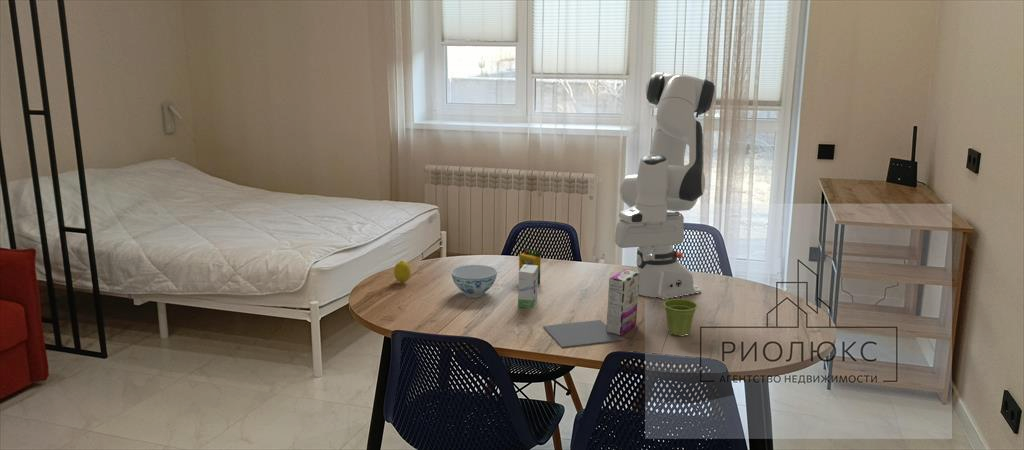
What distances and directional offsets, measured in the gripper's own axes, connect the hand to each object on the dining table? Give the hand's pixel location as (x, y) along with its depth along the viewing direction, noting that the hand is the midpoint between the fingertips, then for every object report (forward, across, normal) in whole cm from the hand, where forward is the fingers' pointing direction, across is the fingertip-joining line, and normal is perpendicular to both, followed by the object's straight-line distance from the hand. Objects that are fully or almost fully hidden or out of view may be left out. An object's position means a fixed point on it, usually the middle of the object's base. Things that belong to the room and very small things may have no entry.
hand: (648, 260), depth 222 cm
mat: (+20, +20, 0) cm, 28 cm away
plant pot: (+20, -8, +7) cm, 23 cm away
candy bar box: (+20, +8, 0) cm, 22 cm away
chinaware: (+20, +40, -44) cm, 63 cm away
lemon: (+21, +61, -62) cm, 89 cm away
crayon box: (+20, +19, -50) cm, 57 cm away
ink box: (+20, +26, -30) cm, 45 cm away
